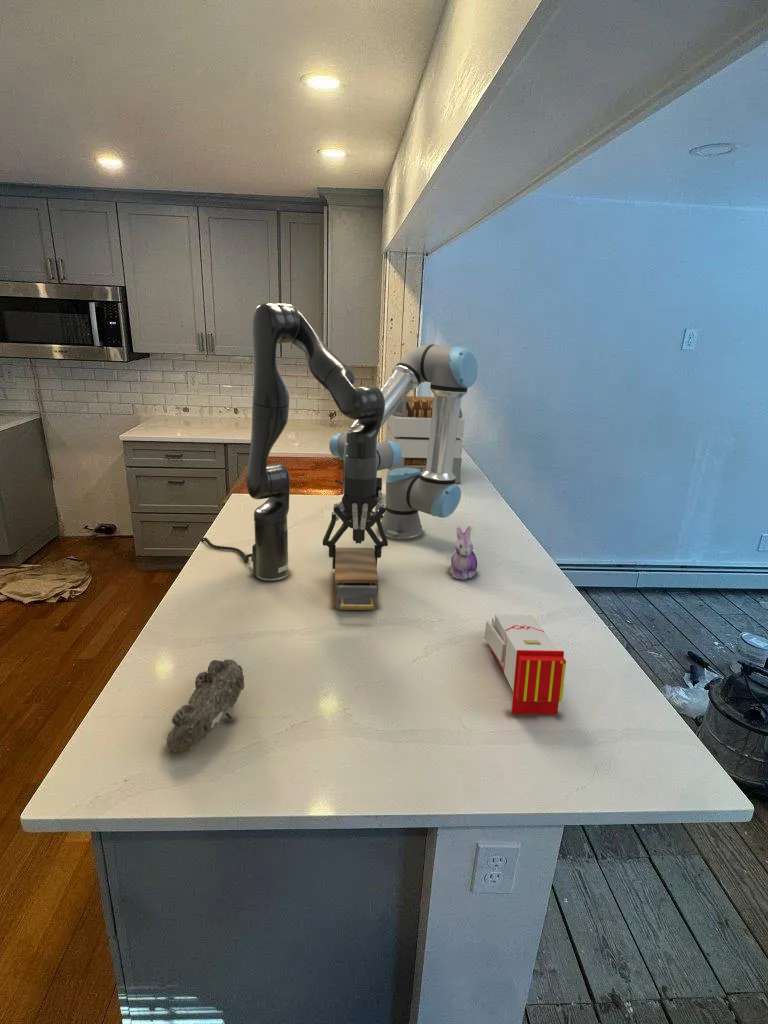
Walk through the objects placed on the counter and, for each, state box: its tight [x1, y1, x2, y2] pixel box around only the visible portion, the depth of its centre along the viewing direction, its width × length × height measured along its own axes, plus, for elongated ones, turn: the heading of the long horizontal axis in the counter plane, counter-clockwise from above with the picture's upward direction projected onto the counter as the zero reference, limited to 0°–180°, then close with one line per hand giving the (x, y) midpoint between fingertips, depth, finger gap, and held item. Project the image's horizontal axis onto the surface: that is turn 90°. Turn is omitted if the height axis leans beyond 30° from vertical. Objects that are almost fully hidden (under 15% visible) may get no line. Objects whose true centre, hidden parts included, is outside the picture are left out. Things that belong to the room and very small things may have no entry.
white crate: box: [384, 394, 465, 484], centre depth 268 cm, size 34×33×41 cm
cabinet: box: [334, 546, 379, 609], centre depth 158 cm, size 21×11×8 cm, turn 4°
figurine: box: [449, 525, 479, 580], centre depth 169 cm, size 9×10×15 cm
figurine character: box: [376, 477, 383, 500], centre depth 234 cm, size 7×8×15 cm
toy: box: [484, 614, 567, 716], centre depth 124 cm, size 12×13×30 cm
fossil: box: [166, 658, 245, 754], centre depth 106 cm, size 22×10×15 cm
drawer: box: [336, 583, 377, 611], centre depth 153 cm, size 25×10×6 cm, turn 4°
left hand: (358, 542), depth 138 cm, fingers closed
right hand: (354, 567), depth 165 cm, fingers closed on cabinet, 11 cm apart
